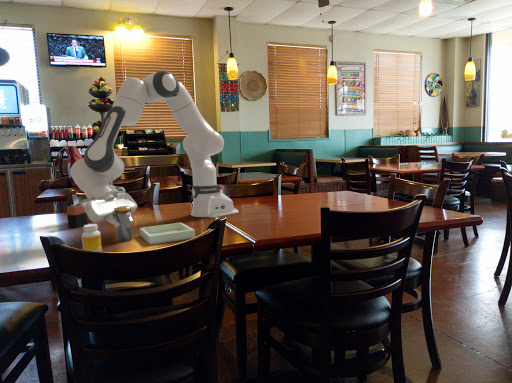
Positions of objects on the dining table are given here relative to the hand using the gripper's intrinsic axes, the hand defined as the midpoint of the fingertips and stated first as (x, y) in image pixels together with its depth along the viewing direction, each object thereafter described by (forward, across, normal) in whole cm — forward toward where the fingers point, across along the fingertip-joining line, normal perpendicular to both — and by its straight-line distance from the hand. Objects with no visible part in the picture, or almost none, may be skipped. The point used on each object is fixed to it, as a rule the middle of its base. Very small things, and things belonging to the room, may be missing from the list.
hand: (125, 224), depth 135 cm
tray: (+12, +8, -4) cm, 15 cm away
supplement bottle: (+7, -18, +2) cm, 19 cm away
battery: (-23, +12, +32) cm, 41 cm away
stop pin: (+4, 0, +5) cm, 6 cm away
